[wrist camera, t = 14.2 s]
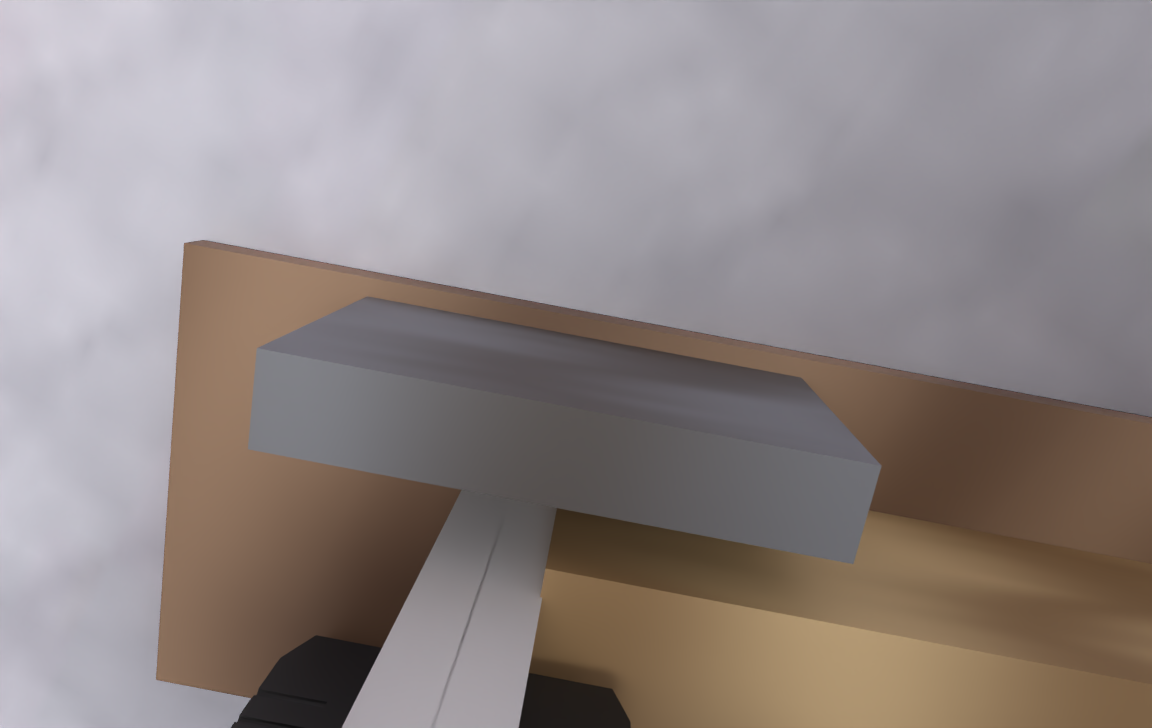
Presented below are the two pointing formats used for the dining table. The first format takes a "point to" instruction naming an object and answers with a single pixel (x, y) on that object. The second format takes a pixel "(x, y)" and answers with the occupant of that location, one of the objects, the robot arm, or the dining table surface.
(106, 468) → the dining table surface
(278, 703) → the robot arm
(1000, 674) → the brass rectangular bar
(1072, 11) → the dining table surface
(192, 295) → the cap board
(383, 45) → the dining table surface
